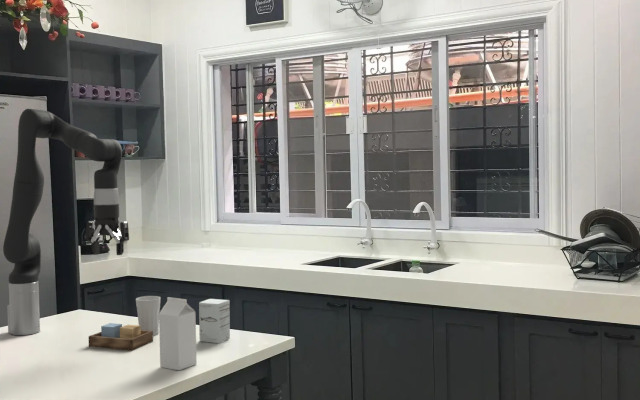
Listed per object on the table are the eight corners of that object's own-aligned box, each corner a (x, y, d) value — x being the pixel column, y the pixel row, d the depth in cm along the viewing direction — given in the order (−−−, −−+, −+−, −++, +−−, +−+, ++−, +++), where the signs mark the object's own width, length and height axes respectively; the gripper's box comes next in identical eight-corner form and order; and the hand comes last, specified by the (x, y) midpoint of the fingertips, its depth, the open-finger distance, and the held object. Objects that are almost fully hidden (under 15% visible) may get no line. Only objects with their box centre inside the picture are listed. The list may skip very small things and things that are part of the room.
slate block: (110, 338, 227) (110, 323, 226) (122, 339, 225) (122, 324, 225) (101, 342, 222) (101, 326, 222) (113, 343, 221) (113, 327, 221)
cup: (164, 331, 239) (163, 296, 238) (156, 337, 231) (155, 300, 230) (141, 331, 240) (140, 295, 239) (133, 336, 232) (132, 300, 231)
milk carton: (179, 371, 193) (177, 301, 192) (160, 367, 196) (158, 299, 195) (196, 364, 199) (195, 297, 198) (178, 361, 202) (176, 295, 201)
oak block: (128, 340, 224) (128, 324, 224) (140, 341, 223) (140, 325, 222) (120, 343, 220) (119, 327, 220) (132, 344, 218) (132, 328, 218)
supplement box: (198, 342, 224) (197, 302, 223) (210, 336, 231) (210, 298, 230) (219, 343, 221) (218, 303, 221) (230, 338, 228) (230, 299, 228)
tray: (88, 346, 220) (88, 336, 220) (111, 338, 231) (111, 327, 230) (131, 350, 214) (131, 339, 214) (153, 341, 225) (152, 331, 225)
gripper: (133, 202, 223) (134, 253, 224) (95, 202, 228) (96, 252, 228) (118, 203, 216) (120, 256, 217) (79, 203, 220) (81, 255, 221)
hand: (108, 254), depth 222 cm, fingers open, 8 cm apart
